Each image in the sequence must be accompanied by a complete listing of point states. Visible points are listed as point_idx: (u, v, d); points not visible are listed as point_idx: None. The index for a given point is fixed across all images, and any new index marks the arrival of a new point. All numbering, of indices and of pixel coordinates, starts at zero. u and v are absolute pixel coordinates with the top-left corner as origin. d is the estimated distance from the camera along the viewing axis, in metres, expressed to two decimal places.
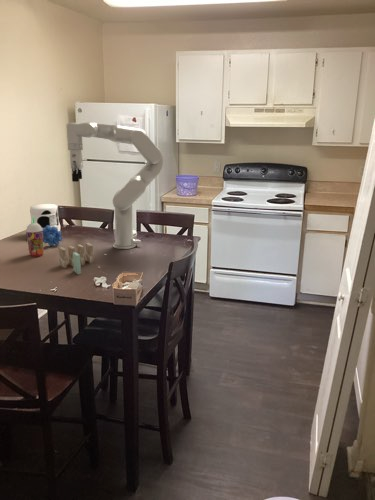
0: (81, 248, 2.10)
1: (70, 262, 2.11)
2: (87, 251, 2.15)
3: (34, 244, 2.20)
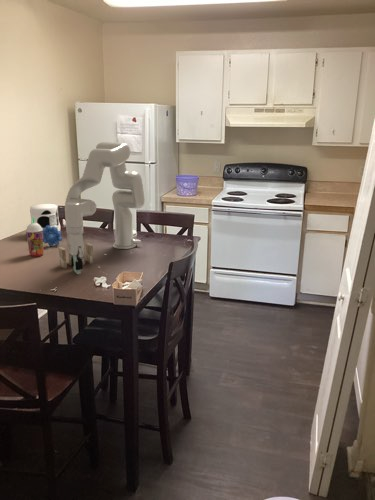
0: None
1: (70, 262, 2.11)
2: (87, 251, 2.15)
3: (34, 244, 2.20)
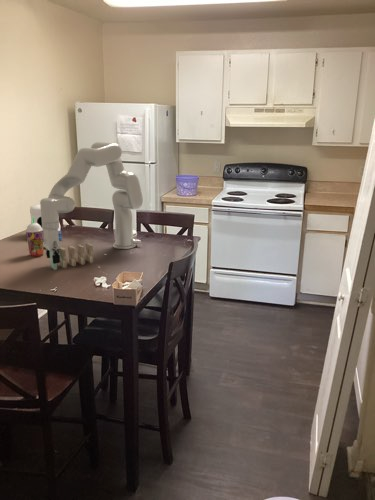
0: (81, 248, 2.10)
1: (70, 262, 2.11)
2: (87, 251, 2.15)
3: (34, 244, 2.20)
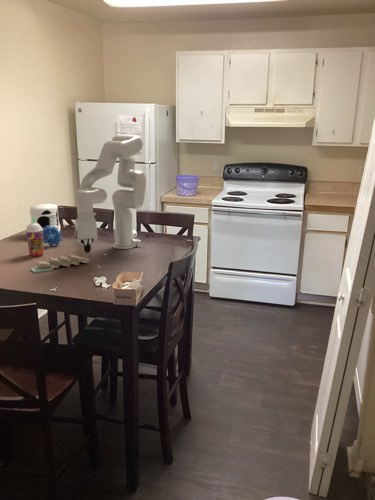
0: (62, 261, 2.06)
1: None
2: None
3: (34, 244, 2.20)
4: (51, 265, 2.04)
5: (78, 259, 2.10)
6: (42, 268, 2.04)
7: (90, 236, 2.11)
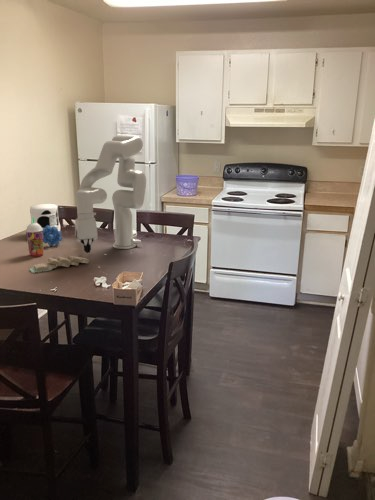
0: (62, 261, 2.05)
1: None
2: None
3: (34, 244, 2.20)
4: (48, 266, 2.03)
5: (78, 259, 2.10)
6: None
7: (90, 236, 2.11)
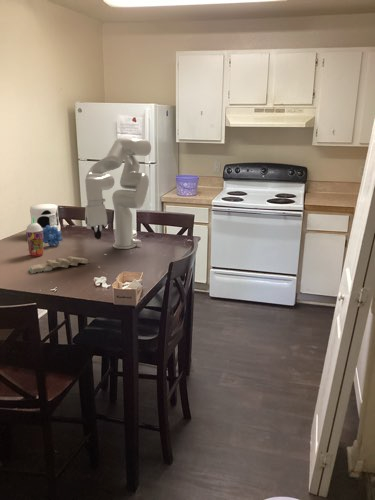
0: (62, 262, 2.04)
1: None
2: None
3: (34, 244, 2.20)
4: (45, 268, 2.01)
5: (78, 260, 2.10)
6: None
7: (100, 222, 2.13)
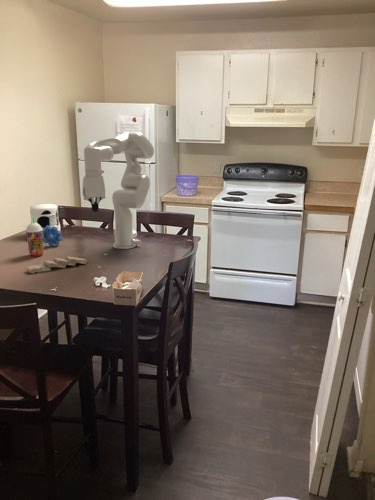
0: (59, 262, 2.05)
1: None
2: None
3: (34, 244, 2.20)
4: (41, 268, 2.01)
5: (76, 260, 2.09)
6: None
7: (98, 194, 2.08)
